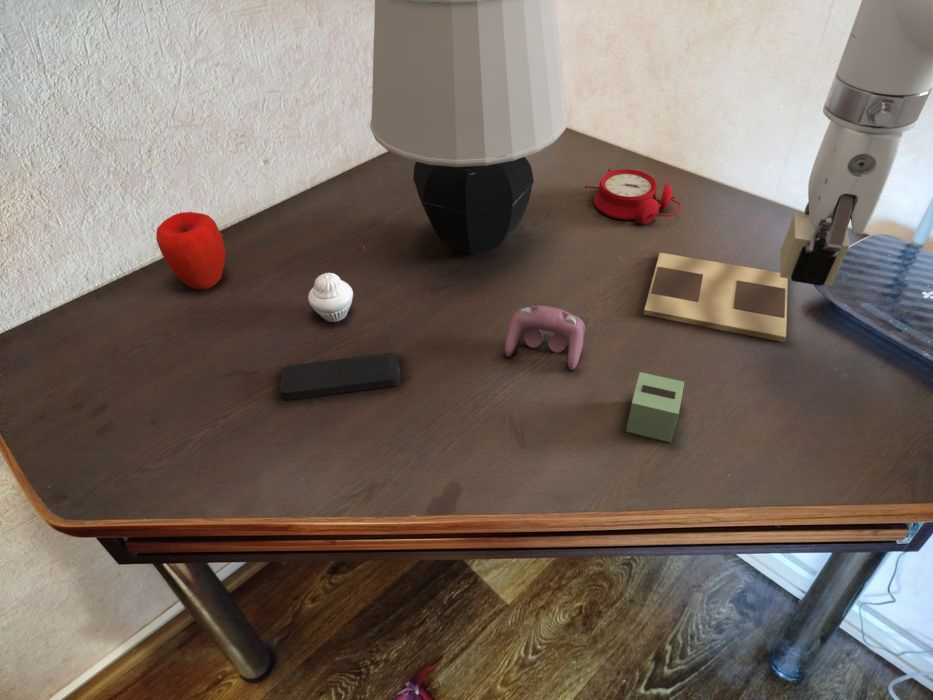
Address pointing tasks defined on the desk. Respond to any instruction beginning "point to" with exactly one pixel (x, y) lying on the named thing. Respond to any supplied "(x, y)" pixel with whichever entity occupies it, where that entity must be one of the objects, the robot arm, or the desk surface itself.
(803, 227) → the cream cube
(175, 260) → the apple
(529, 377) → the desk surface
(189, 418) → the desk surface
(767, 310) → the word board
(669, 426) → the letter tile i
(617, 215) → the alarm clock
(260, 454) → the desk surface
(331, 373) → the remote control
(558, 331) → the video game controller
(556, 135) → the table lamp
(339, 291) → the muffin
